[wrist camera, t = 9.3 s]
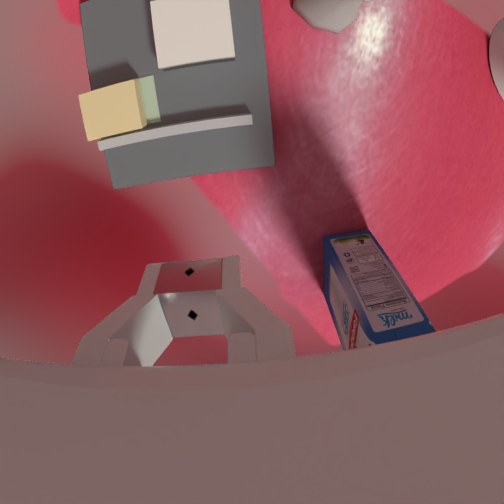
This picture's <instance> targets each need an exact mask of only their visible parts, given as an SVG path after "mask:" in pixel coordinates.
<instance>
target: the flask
mask: <svg viewBox="0 0 504 504" xmlns="http://www.w3.org/2000/svg"><path fill="white" fill-rule="evenodd" d="M362 1H366V2H370V1H371V0H294V1H293V8H292V9H293V10H294V11H295V12H296V13H298V14H299V15H300V16H301V17H302V18H303V19H304V20H305V21H306V22H307V23H308V24H309V25H310V26H311V27H312V28H317V29H321V30H326V31H330V32H334V33H338V34H339V33H340V32H341V31H342V30H344V29H345V28H346V27H347V26H349V25H350V24H351V23H352V22H354V21H355V20H356V19H357V16H358V12H359V8H360V5H361V2H362Z"/></svg>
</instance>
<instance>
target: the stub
mask: <svg viewBox="0 0 504 504" xmlns="http://www.w3.org/2000/svg"><path fill="white" fill-rule="evenodd" d="M78 97H79V102H80V107H81V112H82V116H83V121H84V126H85V131H86V135H87V139H88V141H91V140H95V139H99V138H103V137H107V136H111V135H115V134H119V133H124V132H128V131H132V130H137V129H142V128H143V127H145V126H146V125H147V120H146V115H145V109H144V104H143V98H142V92H141V86H140V80H139V78H138V79H133V80H129V81H125V82H121V83H117V84H114V85H110V86H107V87H103V88H100V89H96V90H93V91H90V92H87V93H84V94H80V95H78Z"/></svg>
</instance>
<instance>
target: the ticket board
mask: <svg viewBox="0 0 504 504" xmlns="http://www.w3.org/2000/svg"><path fill="white" fill-rule="evenodd" d="M80 10H81V21H82V30H83V38H84V46H85V54H86V61H87V67H88V73H89V80H90V85H91V91H93V90H96V89H100V88H103V87H107V86H110V85H114V84H117V83H121V82H125V81H129V80H133V79H138V78H139V80H140V86H141V92H142V98H143V104H144V109H145V115H146V120H147V125H146V126H145V127H143V128H142V129H137V130H132V131H128V132H124V133H119V134H115V135H111V136H107V137H103V138H101V140H100V141H98V142H97V143H98V147H99V150H100V151H101V150H104V152H105V156H106V161H107V164H108V168H109V172H110V176H111V180H112V184H113V187H114V189H119V188H124V187H129V186H134V185H140V184H145V183H152V182H157V181H163V180H170V179H176V178H182V177H189V176H196V175H203V174H210V173H218V172H225V171H233V170H242V169H250V168H260V167H269V166H275V157H274V144H273V131H272V119H271V107H270V96H269V85H268V74H267V64H266V54H265V44H264V34H263V25H262V15H261V6H260V0H89V1H86V2H84V3H81V4H80Z"/></svg>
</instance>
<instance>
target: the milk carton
mask: <svg viewBox="0 0 504 504" xmlns="http://www.w3.org/2000/svg"><path fill="white" fill-rule="evenodd" d="M324 297H325V299H326V302H327V305H328V308H329V310H330V313H331V316H332V319H333V322H334V325H335V327H336V330H337V333H338V336H339V339H340V342H341V345H342V348H343V350H348V349H354V348H360V347H366V346H371V345H377V344H382V343H387V342H392V341H397V340H402V339H407V338H411V337H416V336H420V335H425V334H429V333H433V332H436V331H435V329H434V328H433V326H432V324H431V323H430V321H429V319H428V318H427V316H426V314H425V313H424V311H423V309H422V308H421V306H420V305H419V303H418V301H417V300H416V298H415V297H414V295H413V294H412V292H411V291H410V289H409V287H408V286H407V284H406V283H405V281H404V280H403V278H402V277H401V275H400V274H399V272H398V271H397V269H396V268H395V266H394V265H393V263H392V262H391V260H390V259H389V258H388V256H387V255H386V253H385V252H384V250H383V249H382V248H381V246H380V245H379V243H378V242H377V240H376V239H375V238H374V236H373V235H372V234H371V232H370V231H369V230H364V231H358V232H351V233H344V234H337V235H331V236H324Z"/></svg>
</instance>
